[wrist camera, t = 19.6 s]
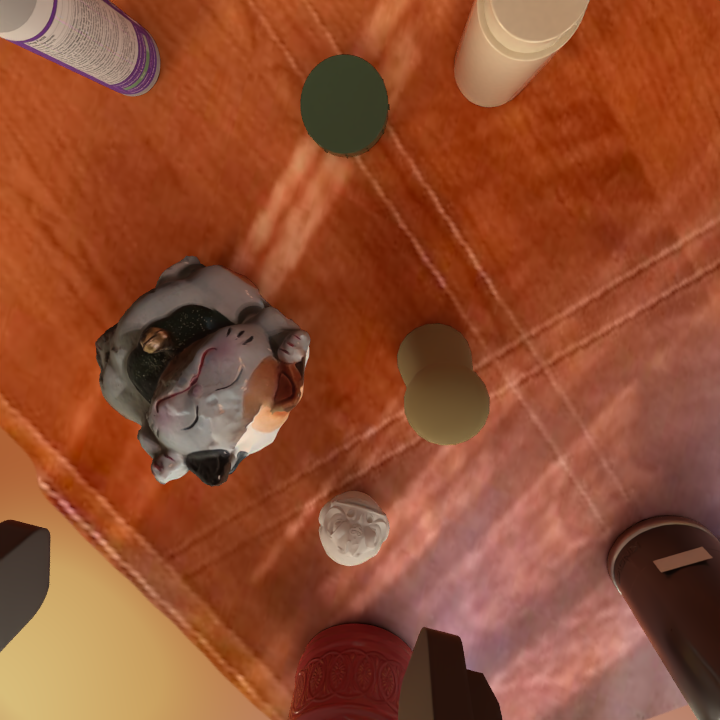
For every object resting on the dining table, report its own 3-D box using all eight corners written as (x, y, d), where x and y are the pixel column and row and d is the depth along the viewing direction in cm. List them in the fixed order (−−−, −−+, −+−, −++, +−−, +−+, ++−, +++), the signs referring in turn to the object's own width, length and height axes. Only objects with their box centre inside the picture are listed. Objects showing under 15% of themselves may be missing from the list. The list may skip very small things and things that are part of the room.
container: (83, 52, 31) (-183, -94, 17) (128, 3, 30) (-116, -197, 16) (129, 111, 32) (-87, 20, 18) (174, 66, 31) (-18, -69, 17)
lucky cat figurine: (219, 223, 34) (253, 269, 22) (308, 330, 41) (368, 406, 29) (64, 346, 33) (18, 456, 22) (181, 433, 40) (192, 552, 29)
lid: (298, 146, 32) (292, 142, 30) (314, 53, 30) (309, 44, 28) (376, 166, 32) (375, 163, 30) (397, 74, 30) (397, 66, 28)
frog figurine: (399, 478, 39) (400, 530, 33) (377, 539, 41) (374, 599, 35) (334, 459, 39) (322, 507, 33) (316, 521, 41) (301, 578, 35)
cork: (432, 307, 34) (448, 344, 24) (487, 357, 35) (525, 412, 25) (381, 361, 36) (375, 417, 26) (435, 407, 37) (450, 479, 26)
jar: (544, 28, 28) (623, -77, 19) (517, 115, 30) (576, 62, 20) (467, 9, 28) (505, -105, 19) (444, 97, 30) (467, 35, 20)
